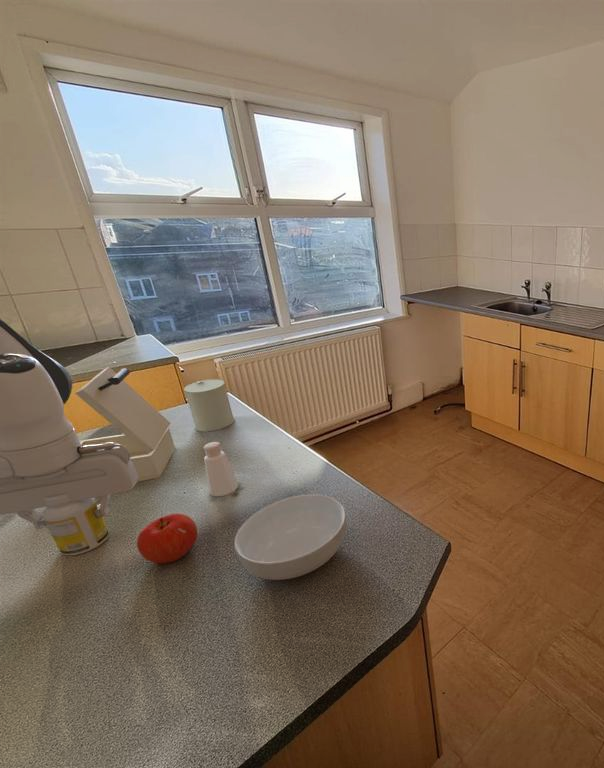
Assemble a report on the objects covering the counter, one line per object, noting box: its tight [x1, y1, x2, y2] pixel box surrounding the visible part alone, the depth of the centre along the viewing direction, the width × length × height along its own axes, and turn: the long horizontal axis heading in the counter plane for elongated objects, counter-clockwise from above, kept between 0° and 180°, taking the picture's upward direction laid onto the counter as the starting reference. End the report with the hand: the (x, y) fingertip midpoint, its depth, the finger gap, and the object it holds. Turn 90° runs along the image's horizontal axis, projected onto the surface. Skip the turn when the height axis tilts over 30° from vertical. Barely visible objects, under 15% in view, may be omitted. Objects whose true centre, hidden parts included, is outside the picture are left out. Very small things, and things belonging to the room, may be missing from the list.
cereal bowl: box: [234, 494, 348, 581], centre depth 74 cm, size 17×17×7 cm
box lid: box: [74, 366, 171, 454], centre depth 94 cm, size 17×14×6 cm
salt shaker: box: [203, 441, 240, 497], centre depth 90 cm, size 5×5×11 cm
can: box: [183, 378, 235, 433], centre depth 116 cm, size 9×9×12 cm
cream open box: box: [79, 427, 176, 483], centre depth 97 cm, size 17×14×6 cm
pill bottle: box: [41, 494, 110, 556], centre depth 75 cm, size 6×6×12 cm
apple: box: [136, 513, 198, 564], centre depth 73 cm, size 8×8×8 cm
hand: (75, 520), depth 75 cm, fingers closed on pill bottle, 6 cm apart
